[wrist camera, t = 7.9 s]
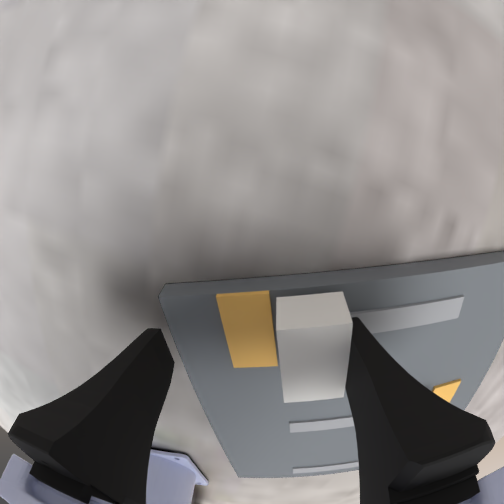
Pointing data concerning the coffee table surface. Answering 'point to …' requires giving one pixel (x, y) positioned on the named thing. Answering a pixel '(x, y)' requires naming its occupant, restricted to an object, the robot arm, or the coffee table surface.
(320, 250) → the coffee table surface
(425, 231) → the coffee table surface
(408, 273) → the switch board
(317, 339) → the switch
